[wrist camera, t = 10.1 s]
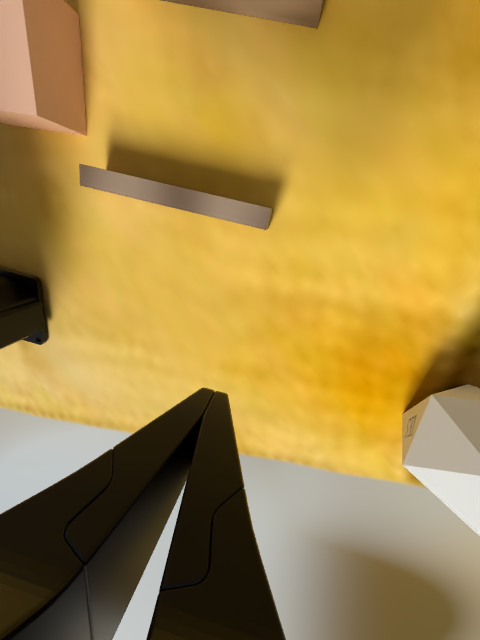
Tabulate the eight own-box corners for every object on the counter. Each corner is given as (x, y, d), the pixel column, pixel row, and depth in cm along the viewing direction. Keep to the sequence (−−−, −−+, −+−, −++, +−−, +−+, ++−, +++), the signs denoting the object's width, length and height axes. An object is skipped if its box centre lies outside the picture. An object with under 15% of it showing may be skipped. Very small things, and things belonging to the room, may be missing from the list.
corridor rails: (105, 189, 18) (79, 185, 16) (106, -41, 14) (71, -92, 12) (268, 228, 18) (265, 229, 15) (325, -4, 13) (333, -51, 11)
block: (10, 125, 18) (-59, 102, 14) (-9, 7, 16) (-98, -56, 12) (89, 136, 18) (36, 115, 14) (81, 17, 15) (16, -47, 12)
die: (384, 361, 20) (377, 501, 16) (553, 352, 14) (626, 582, 9) (418, 402, 24) (420, 524, 20) (561, 410, 18) (615, 591, 13)
